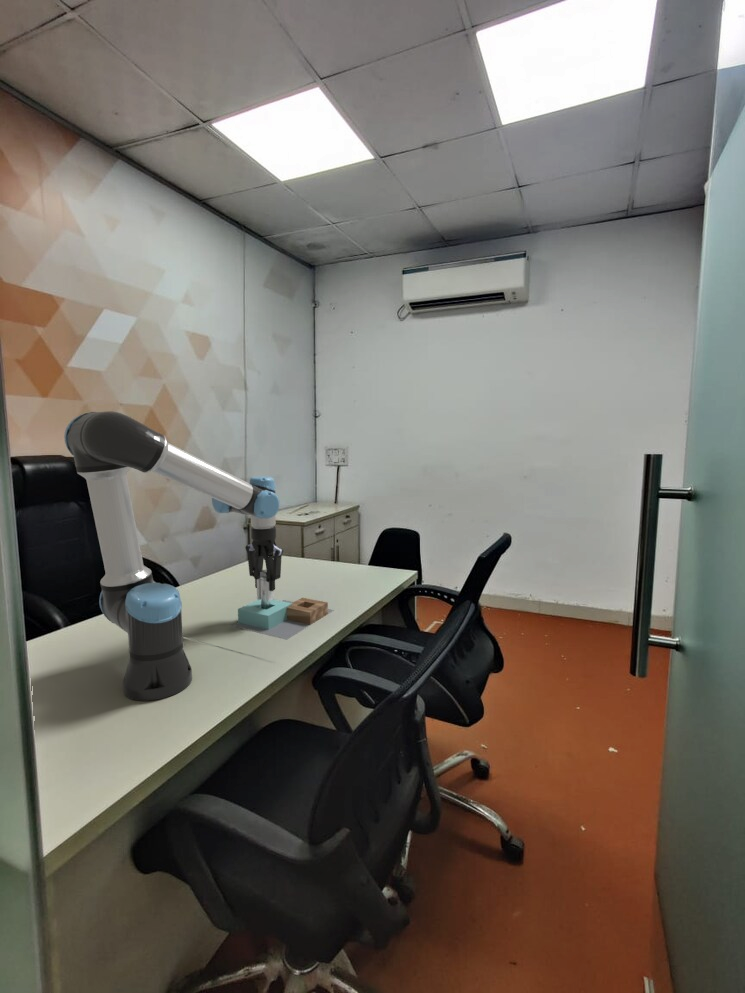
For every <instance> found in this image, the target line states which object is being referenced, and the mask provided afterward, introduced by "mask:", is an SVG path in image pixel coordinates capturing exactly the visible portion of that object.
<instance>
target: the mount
mask: <svg viewBox="0 0 745 993" xmlns="http://www.w3.org/2000/svg"><path fill="white" fill-rule="evenodd" d="M292 602H293V603H292V605H291V606H289V607H287V620H291V621H295V622H300V623H304V624H309V625H310V626H311V625H313V624H315V623H316V622H318V621H319V620H321V619H323V618H324V617H326V616H327V615H329V614H328V609H329V605H328V604H329V602H327V601H323V600H317V599H312V598H307V597H300V598H299V599H296V600H295V601H292ZM322 617H323V618H322ZM314 622H315V623H314Z"/></svg>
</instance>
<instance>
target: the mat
mask: <svg viewBox="0 0 745 993" xmlns="http://www.w3.org/2000/svg"><path fill="white" fill-rule="evenodd" d="M282 601H283V602H288V603H293V602H294V601H290V600H287V599H286V600H285V599H284V600H282ZM334 611H335V610H334V609H329V608H328V614H327V615H329V614H331V613H332V612H334ZM323 618H324V617H322V618H321V619H323ZM315 623H316V622H314V623H313V624H315ZM309 626H311V625H309V624H304V623H300V622H295V621H291V620H285V621H284V622H282V623H280V624H278V625H276V626H275V627H273V628H271V629H269V630H267V629H263V628H259V627H255V626H251V625H247V624H243V623H238V622H236V623H234V624H233V625H231V627H233V628H238V629H242V630H246V631H250V632H255V633H258V634H262V635H266V636H270V637H275V638H278V639H283V640H289V639H291V638H292V637H294V636H295V635H297V634H298V633H300V632H302V631H303V630H306V628H308V627H309Z"/></svg>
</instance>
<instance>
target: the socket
mask: <svg viewBox="0 0 745 993" xmlns="http://www.w3.org/2000/svg"><path fill="white" fill-rule="evenodd" d="M291 605H292V603H288V602H283V600H278V599H273V600H271V608H269V609H267V610H266V609H262V608H261V599H260V600H255V601H252V602H249V603H248V604H246V605H243V606H241V607H240V608H237V623H243V624H247V625H251V626H255V627H259V628H263V629H267V630H269V629H271V628H273V627H275V626H276V625H278V624H280V623H282V622H284V621H285V620H287V607H289V606H291Z"/></svg>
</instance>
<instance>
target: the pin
mask: <svg viewBox="0 0 745 993" xmlns="http://www.w3.org/2000/svg"><path fill="white" fill-rule="evenodd" d="M266 580H268V577H267V570H266V569H263V570H261V571H260V590H261V608H262V609H266V610H267V609H269V608H271V601H269V602H267V601H266Z"/></svg>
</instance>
